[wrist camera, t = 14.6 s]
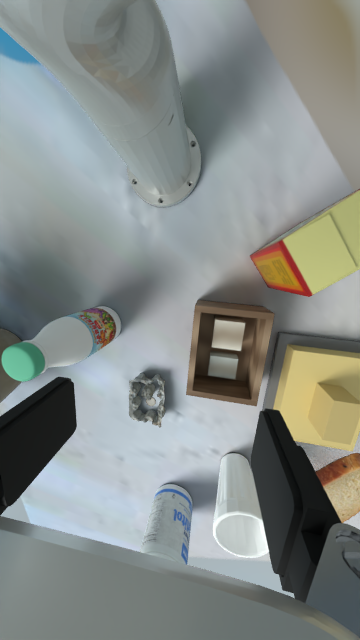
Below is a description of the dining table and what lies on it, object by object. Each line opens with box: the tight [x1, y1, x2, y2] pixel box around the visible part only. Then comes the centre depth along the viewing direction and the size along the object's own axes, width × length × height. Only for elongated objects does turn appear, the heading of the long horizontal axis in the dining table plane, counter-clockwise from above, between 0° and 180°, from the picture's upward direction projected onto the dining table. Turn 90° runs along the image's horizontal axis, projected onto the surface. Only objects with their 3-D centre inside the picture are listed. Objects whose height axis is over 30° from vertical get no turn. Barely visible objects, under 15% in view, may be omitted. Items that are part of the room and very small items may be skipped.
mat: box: [262, 332, 360, 411], centre depth 38 cm, size 21×17×1 cm
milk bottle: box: [2, 306, 121, 381], centre depth 33 cm, size 8×8×20 cm
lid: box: [273, 344, 360, 451], centre depth 34 cm, size 18×14×8 cm
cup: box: [213, 453, 269, 558], centre depth 39 cm, size 10×10×13 cm
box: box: [186, 300, 275, 406], centre depth 36 cm, size 16×12×7 cm
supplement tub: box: [140, 484, 193, 565], centre depth 43 cm, size 10×10×15 cm
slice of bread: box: [316, 453, 360, 523], centre depth 42 cm, size 18×18×4 cm
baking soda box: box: [250, 189, 360, 297], centre depth 27 cm, size 10×6×16 cm
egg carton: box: [129, 373, 165, 427], centre depth 43 cm, size 11×8×4 cm
